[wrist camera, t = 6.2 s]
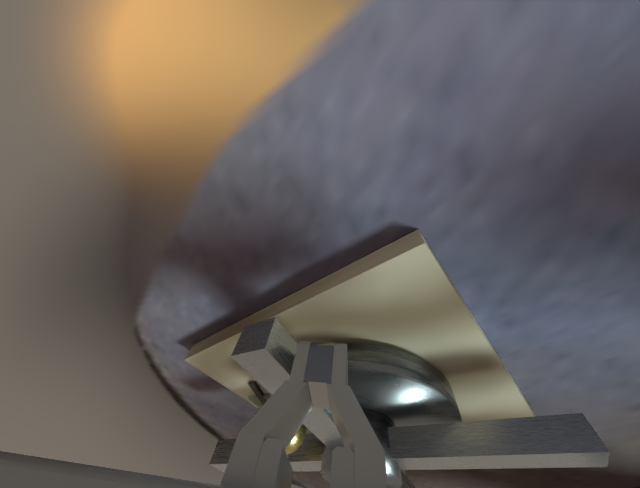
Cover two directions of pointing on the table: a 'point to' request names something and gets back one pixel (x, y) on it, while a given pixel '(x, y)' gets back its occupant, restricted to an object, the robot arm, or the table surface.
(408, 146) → the table surface
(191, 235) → the table surface
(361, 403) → the capstan
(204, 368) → the beige base plate
